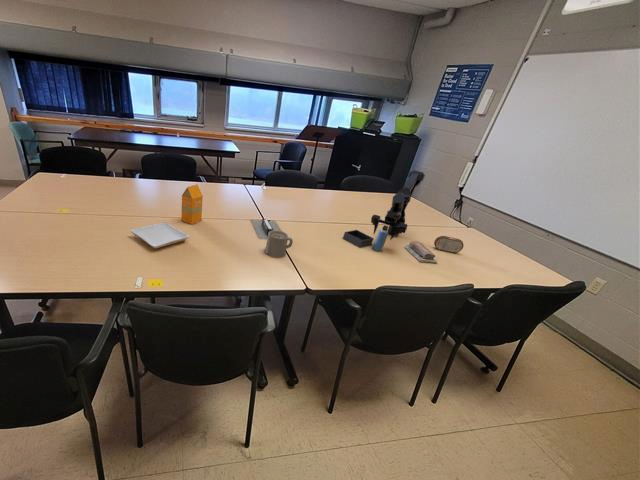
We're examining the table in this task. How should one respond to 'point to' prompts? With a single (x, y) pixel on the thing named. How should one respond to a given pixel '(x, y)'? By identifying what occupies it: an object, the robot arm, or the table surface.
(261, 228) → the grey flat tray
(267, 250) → the coffee mug
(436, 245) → the tin
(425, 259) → the packaged product
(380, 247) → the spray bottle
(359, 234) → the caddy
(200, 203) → the orange juice
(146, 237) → the salad plate
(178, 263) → the table surface
